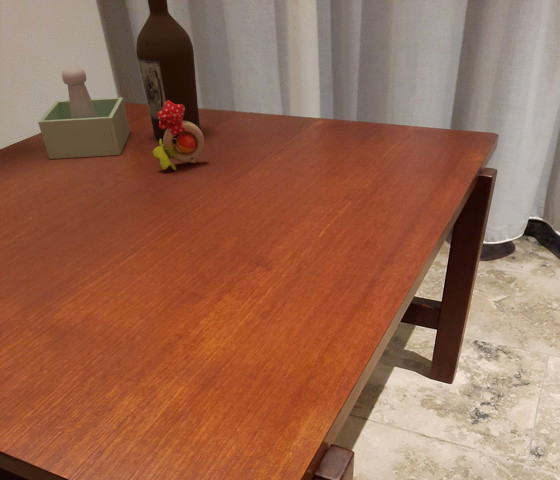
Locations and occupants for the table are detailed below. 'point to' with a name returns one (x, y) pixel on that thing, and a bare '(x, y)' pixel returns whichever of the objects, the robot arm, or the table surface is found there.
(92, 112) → the salt shaker
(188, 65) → the olive oil
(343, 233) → the table surface
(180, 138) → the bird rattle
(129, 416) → the table surface
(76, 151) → the bin
